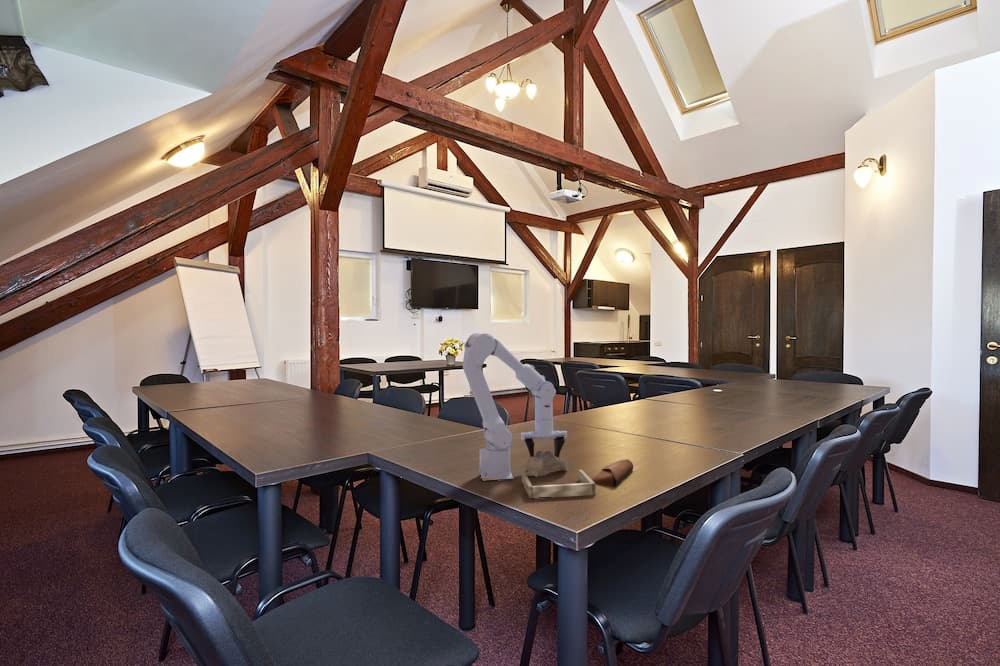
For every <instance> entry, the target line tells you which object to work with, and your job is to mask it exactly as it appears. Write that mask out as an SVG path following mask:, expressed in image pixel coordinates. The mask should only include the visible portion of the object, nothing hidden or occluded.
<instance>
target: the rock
mask: <svg viewBox="0 0 1000 666" xmlns="http://www.w3.org/2000/svg"><path fill="white" fill-rule="evenodd" d="M554 455H555V451H551V450H547V451H542V450H540V451H539V450H537V452H536V453H535V454H534V457H530V459H527V460H526V461H525V466H524V467H525V469H524V472H523V473H525V474H526V475H527V477H535V478H536V477H537V478H538V477H539V476H540V477H543V476H546V475H547V474H548V473H550V472H553V471H556V470H561V471H568V465H569V464H568V461H567V460H566V459H564V458H561V457H559V458H558V457H556V456H554Z"/></svg>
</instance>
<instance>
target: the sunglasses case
mask: <svg viewBox="0 0 1000 666" xmlns="http://www.w3.org/2000/svg"><path fill="white" fill-rule="evenodd" d="M633 469H634V464H633V462H632V461H631V460H629V459H628V458H627V459H622V460H621V459H619V460H617V461H615V462H611V463H610V464H608V465H606V466H603V468H602V469H601V470H600V472H598V473H597V474H595V475H594V476H593V477H592V478H591V480H592V481H593V482H594V483H595V484H596V485H600V486H605V487H613V488H616V486H618V485H619V484H620V483H621V482H622V480H623V479H624V478H625V477H626V476H627V475H628V474H629V473H631V472H632V471H633Z"/></svg>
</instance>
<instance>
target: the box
mask: <svg viewBox="0 0 1000 666" xmlns="http://www.w3.org/2000/svg"><path fill="white" fill-rule="evenodd" d="M578 481H579V483H563V484H544V485H532V483H531V481H530V478H529V476H527V475H526V472H521V484H522V483H523V485H524V487H523V488H525V489H524V491H525V490H526V491H525V493H526V492H527V493H526V494H528V495H527V497H528V496H529V497H528V498H535V499H540V498H539V497H551V498H564V497H565V498H566V497H580V496H581V497H582V496H594V495H595V496H596V495H597V494H596V493H597V492H596V489H597V488H596V485H597V484H595V483H594V482H593V481H592V478H590V476H589V475H588V474H587V473H586V472H585V471H584V470H583V469H578ZM523 485H522V486H523ZM537 497H538V498H537Z"/></svg>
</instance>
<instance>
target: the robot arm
mask: <svg viewBox="0 0 1000 666" xmlns="http://www.w3.org/2000/svg"><path fill="white" fill-rule="evenodd" d="M463 347H464V353H463V359H462V360H463V361H462V369H463V372H464V374H465V377H466V380H467V382H468V385H469V387H470V390H471V393H472V395H473V398H474V401H475V402H476V405H477V408H478V410H479V413H480V416H481V418H482V427H483V438H484V440H485V441H486V446H485V447H483V448H479V467H478V473H479V476H480V475H481V477H480V479H481V478H495V479H513V480H514V477H513V474H512V471H511V445H512V444H513V441H514V440H513V439H514V437H513V434H512V431H511V430H510V429H508V428H507V425H506V423H505V422H504V420H503V418H502V417H501V416H500V414H499V412H498V409H497V406H496V404H495V403H496V402H495V401H494V399H493V396H492V393H491V390H490V387H489V385H488V382H487V381H486V378H485V375H484V372H483V369H482V368H483V365H484V363H485V362H486V359H487V358H488V357H489V356H494V357H496V358H498V359H499V360H500V361H501V362H503V363H504V364H505V365H507V366H508V367H509V368H510V369H511V370H512V371H514V372H515V378H516V379H517V380H518V381H519V382H520V383H521V384H522V385H524V386H525V387H526V388H527V389H528V390H529V391H530V393H531V395H532V396H534V398H533V399H534V403H533V404H534V431H528V432H527V431H526V432H521V433H520V439H521V441H524V443H525V445H526V447H527V449H528V453H529V457H530V458H531V457H534V456H535V442H534V440H545V439H553V445H554V446H553V447H554V454H555V455H554V456H556V457H558V458H560V454H561V450H562V449H563V446H564V444H565V441H566V440H565V439H568V431H567V430H554V410H553V408H554V407H553V405H554V404H553V400H554V397H555V395H556V393H557V390H556V389H555V387H554V384H553V383H552V382H551V381H547V380H546V376H544V375H541V374H540V373H539V372H538V371H537V370H536V367H535V366H534V365H533V364H529V363H525V364H523V363H522V362H521V361H520V360H519V359H518V358H517V357H516V355H514V354H513V353H512V352H511V351H510V350H509V349H508V348H506V347H505V345H504V344H503V343H502V342H501V341H499V340H498V339H497V338H495V337H494V336H493V335H492V334H490V333H485V332H484V333H478V332H477V333H476V332H475V333H472V334H471V335H469V337H468V338H467V340H466V342H465V343H464V346H463ZM484 473H486V475H484Z"/></svg>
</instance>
